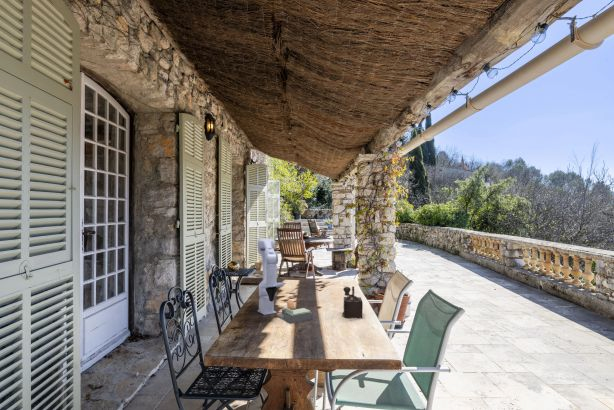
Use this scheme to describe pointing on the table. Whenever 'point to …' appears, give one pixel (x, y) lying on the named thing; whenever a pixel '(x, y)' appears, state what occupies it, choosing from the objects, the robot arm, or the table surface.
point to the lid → (297, 311)
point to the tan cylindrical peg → (290, 305)
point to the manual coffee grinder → (352, 304)
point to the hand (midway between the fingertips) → (271, 301)
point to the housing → (295, 317)
